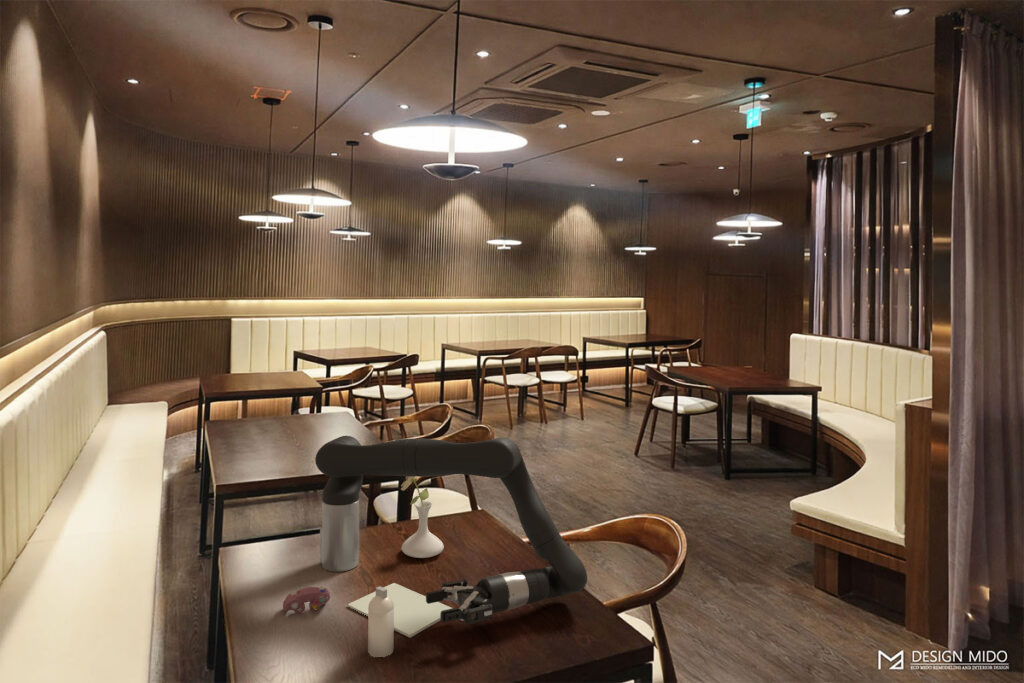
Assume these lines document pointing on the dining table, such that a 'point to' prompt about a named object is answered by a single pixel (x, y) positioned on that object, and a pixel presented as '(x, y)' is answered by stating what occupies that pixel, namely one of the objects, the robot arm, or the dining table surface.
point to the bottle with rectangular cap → (381, 624)
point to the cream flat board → (406, 609)
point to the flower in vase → (421, 528)
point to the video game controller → (306, 599)
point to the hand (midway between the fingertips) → (433, 607)
